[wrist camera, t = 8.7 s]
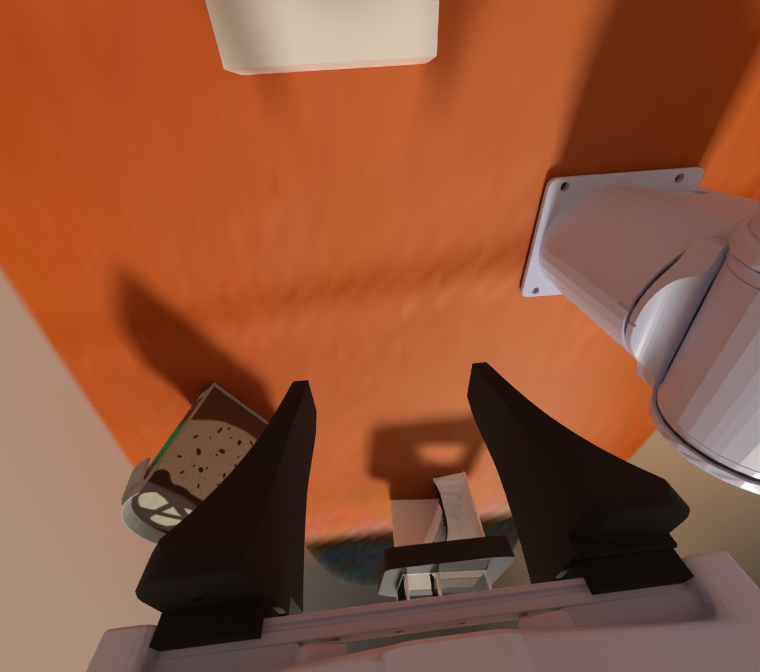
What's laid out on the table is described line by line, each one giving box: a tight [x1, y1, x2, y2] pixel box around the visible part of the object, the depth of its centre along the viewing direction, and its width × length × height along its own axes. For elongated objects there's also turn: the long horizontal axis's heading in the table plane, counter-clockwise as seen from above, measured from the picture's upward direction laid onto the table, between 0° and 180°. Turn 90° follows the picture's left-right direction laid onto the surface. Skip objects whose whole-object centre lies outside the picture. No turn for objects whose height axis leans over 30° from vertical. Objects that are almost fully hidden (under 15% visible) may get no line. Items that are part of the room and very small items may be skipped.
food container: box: [120, 382, 269, 545], centre depth 26 cm, size 12×6×10 cm, turn 31°
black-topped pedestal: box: [377, 472, 515, 601], centre depth 35 cm, size 28×26×13 cm
